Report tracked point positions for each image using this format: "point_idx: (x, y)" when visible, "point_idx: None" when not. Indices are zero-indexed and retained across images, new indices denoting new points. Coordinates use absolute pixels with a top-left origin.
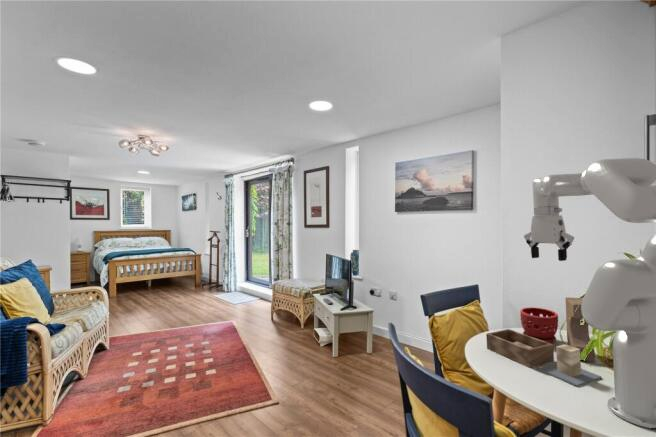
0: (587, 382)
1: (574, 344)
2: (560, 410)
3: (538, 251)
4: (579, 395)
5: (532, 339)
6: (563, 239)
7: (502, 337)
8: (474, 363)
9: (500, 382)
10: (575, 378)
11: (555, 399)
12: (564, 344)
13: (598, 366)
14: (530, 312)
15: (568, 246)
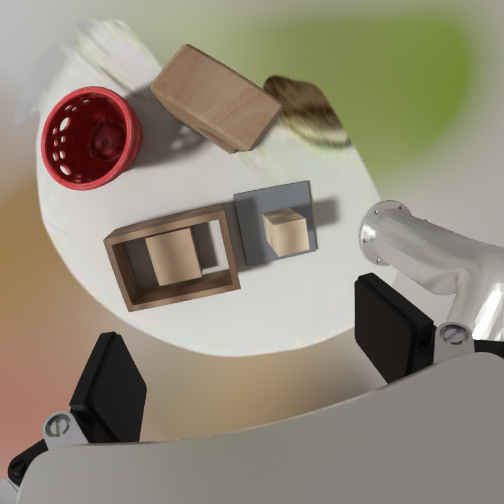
0: (312, 222)
1: (224, 146)
2: (346, 317)
3: (108, 376)
4: (332, 266)
5: (176, 227)
6: (485, 380)
7: (122, 262)
8: (197, 350)
9: (266, 347)
10: None
11: (328, 306)
12: (274, 227)
13: (266, 136)
14: (51, 134)
15: (480, 351)
